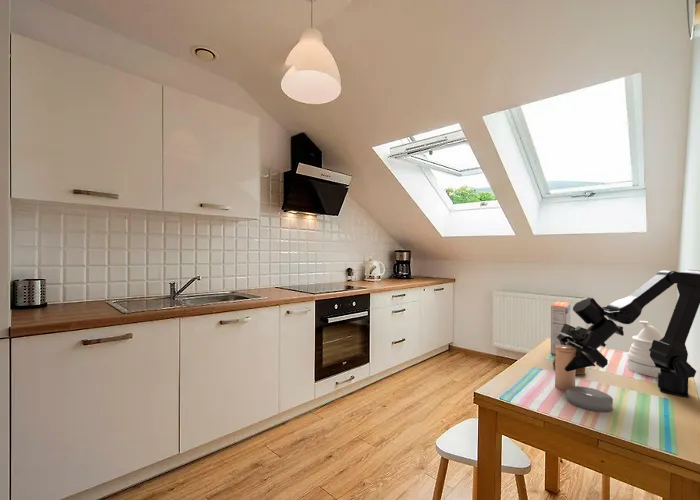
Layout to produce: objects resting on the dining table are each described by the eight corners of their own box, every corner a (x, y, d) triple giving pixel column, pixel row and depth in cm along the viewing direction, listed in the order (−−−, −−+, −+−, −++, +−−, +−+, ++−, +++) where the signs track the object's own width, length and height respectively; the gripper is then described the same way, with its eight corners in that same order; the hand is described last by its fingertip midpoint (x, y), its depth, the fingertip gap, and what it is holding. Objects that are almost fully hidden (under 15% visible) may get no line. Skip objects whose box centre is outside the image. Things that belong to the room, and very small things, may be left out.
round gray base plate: (613, 401, 100) (613, 393, 100) (611, 416, 92) (612, 406, 91) (569, 391, 107) (569, 383, 107) (564, 403, 99) (564, 395, 98)
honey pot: (623, 370, 126) (624, 321, 126) (630, 362, 134) (631, 317, 134) (671, 380, 116) (672, 328, 116) (675, 371, 125) (676, 323, 124)
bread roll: (586, 385, 120) (596, 365, 120) (560, 373, 120) (570, 353, 120) (568, 375, 130) (578, 356, 130) (544, 363, 130) (554, 344, 130)
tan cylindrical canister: (576, 386, 110) (577, 347, 110) (574, 392, 106) (575, 351, 105) (555, 382, 114) (556, 343, 114) (552, 387, 109) (553, 347, 109)
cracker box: (554, 346, 155) (555, 300, 155) (570, 348, 151) (571, 302, 151) (549, 353, 144) (550, 304, 144) (566, 356, 140) (567, 306, 140)
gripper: (563, 310, 118) (529, 340, 120) (597, 322, 100) (558, 358, 101) (586, 333, 118) (552, 363, 119) (625, 350, 99) (585, 385, 100)
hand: (560, 366), depth 110 cm, fingers closed on tan cylindrical canister, 5 cm apart
